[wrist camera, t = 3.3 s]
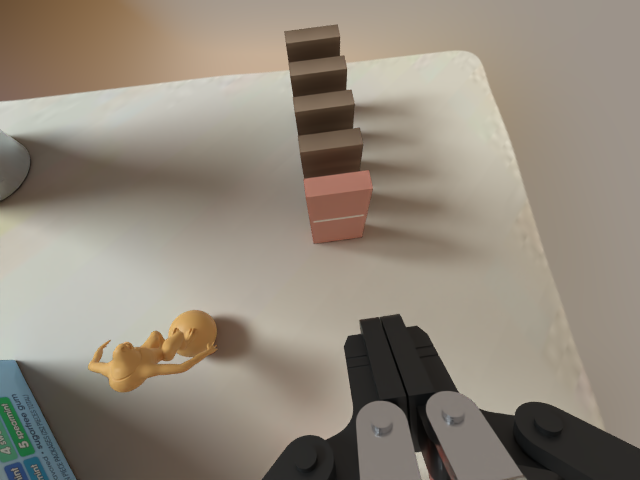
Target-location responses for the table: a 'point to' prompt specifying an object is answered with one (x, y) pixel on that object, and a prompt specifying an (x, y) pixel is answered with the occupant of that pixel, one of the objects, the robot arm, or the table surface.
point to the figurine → (159, 352)
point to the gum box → (26, 433)
